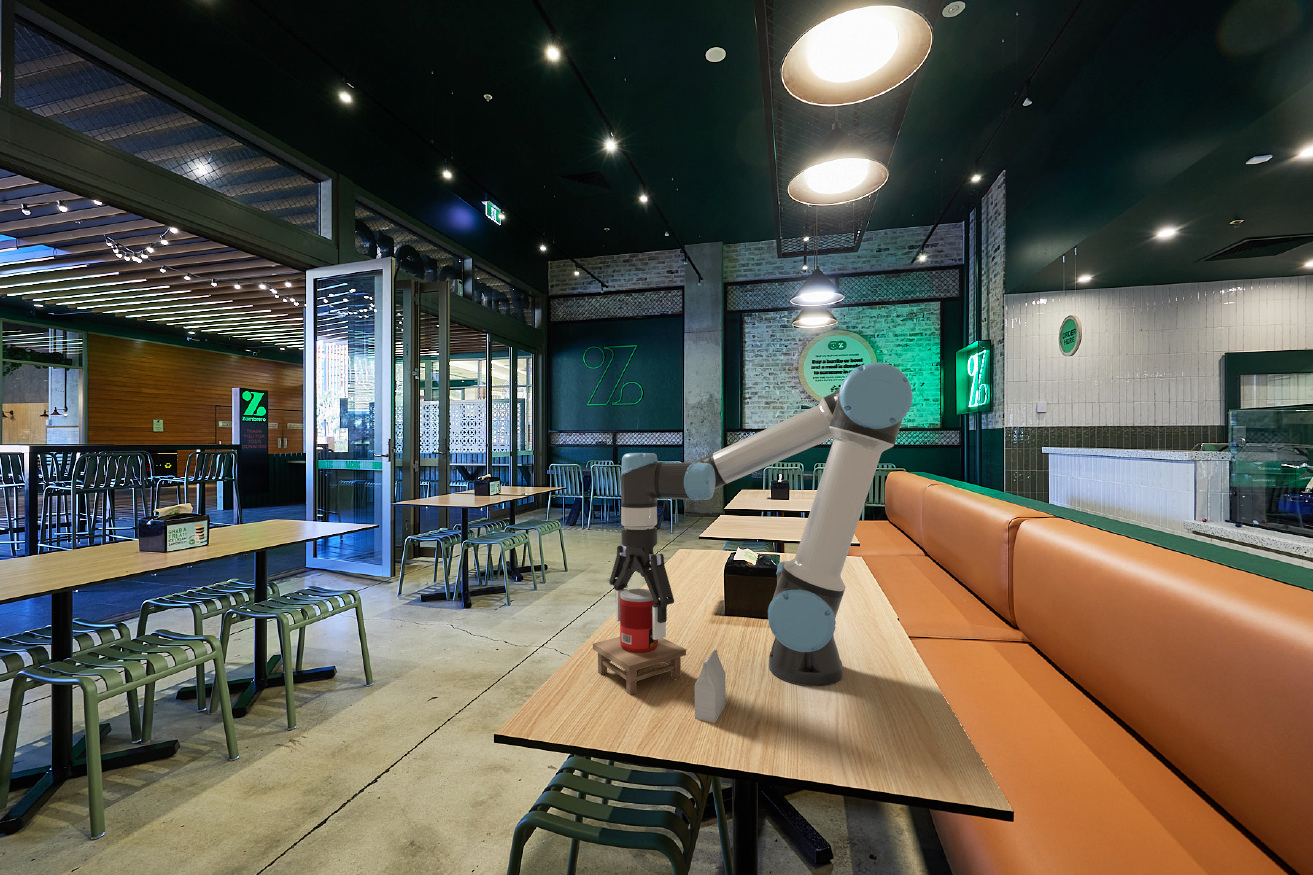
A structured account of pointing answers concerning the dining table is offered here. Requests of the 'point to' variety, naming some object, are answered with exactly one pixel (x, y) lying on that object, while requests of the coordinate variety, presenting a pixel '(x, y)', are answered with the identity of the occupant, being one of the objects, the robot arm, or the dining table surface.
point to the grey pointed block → (710, 690)
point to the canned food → (637, 621)
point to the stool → (638, 660)
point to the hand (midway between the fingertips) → (639, 628)
